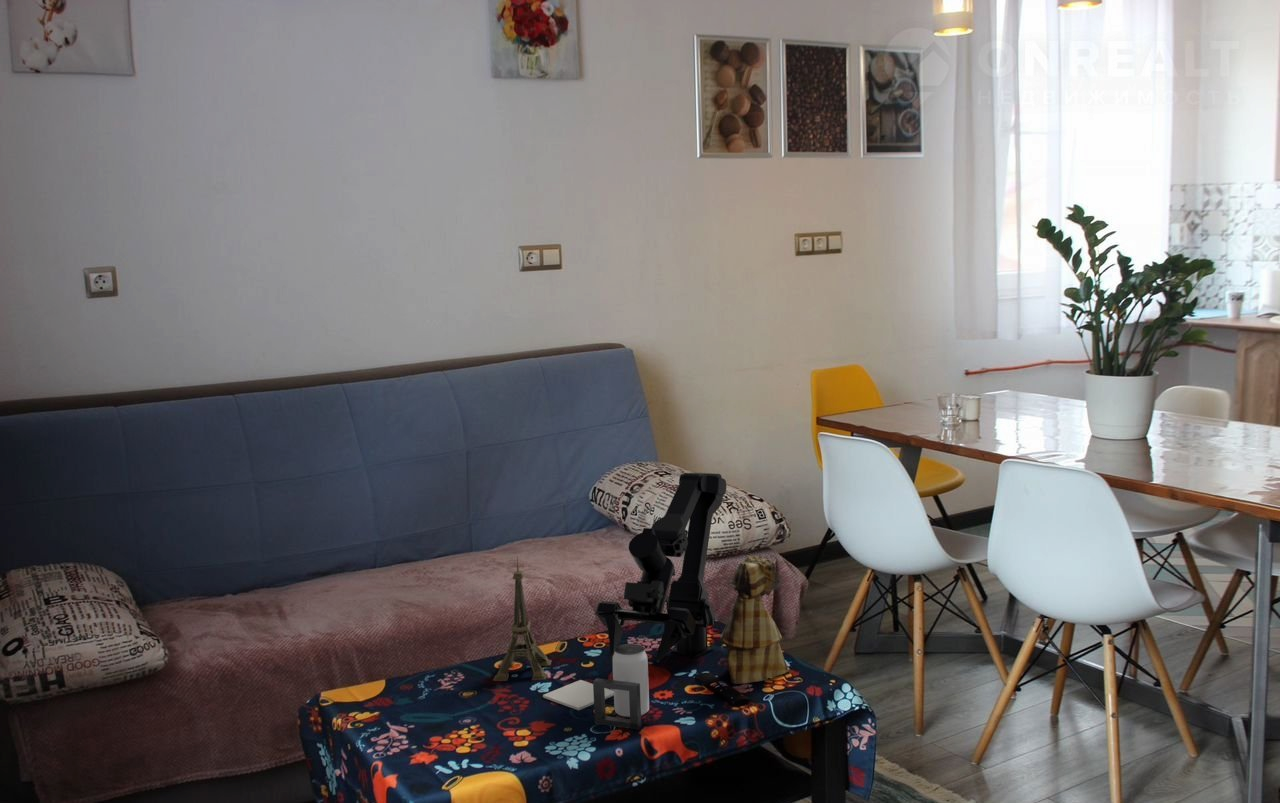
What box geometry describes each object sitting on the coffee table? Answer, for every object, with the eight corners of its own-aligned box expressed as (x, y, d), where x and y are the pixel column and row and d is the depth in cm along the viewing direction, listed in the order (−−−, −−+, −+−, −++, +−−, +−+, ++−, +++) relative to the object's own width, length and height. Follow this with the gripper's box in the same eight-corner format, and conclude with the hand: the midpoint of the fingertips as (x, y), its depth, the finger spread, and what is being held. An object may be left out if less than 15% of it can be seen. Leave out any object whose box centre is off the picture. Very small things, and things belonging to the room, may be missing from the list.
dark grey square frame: (598, 720, 208) (596, 678, 207) (641, 726, 205) (639, 683, 204) (594, 723, 207) (593, 681, 206) (638, 729, 204) (636, 686, 203)
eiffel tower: (501, 662, 240) (495, 546, 237) (551, 661, 240) (546, 545, 237) (493, 681, 230) (486, 560, 227) (545, 680, 229) (539, 559, 226)
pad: (580, 682, 227) (580, 679, 227) (616, 694, 220) (616, 691, 220) (543, 697, 220) (542, 695, 220) (578, 710, 213) (578, 707, 213)
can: (650, 704, 215) (648, 642, 213) (647, 718, 209) (645, 655, 207) (616, 704, 216) (614, 642, 214) (612, 718, 209) (609, 655, 208)
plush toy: (697, 662, 233) (712, 550, 226) (752, 650, 240) (768, 541, 233) (736, 697, 222) (754, 582, 214) (792, 684, 229) (811, 571, 221)
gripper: (597, 560, 219) (574, 633, 211) (689, 567, 212) (669, 643, 203) (615, 588, 227) (594, 660, 219) (704, 596, 220) (686, 671, 212)
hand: (634, 658), depth 213 cm, fingers open, 9 cm apart
